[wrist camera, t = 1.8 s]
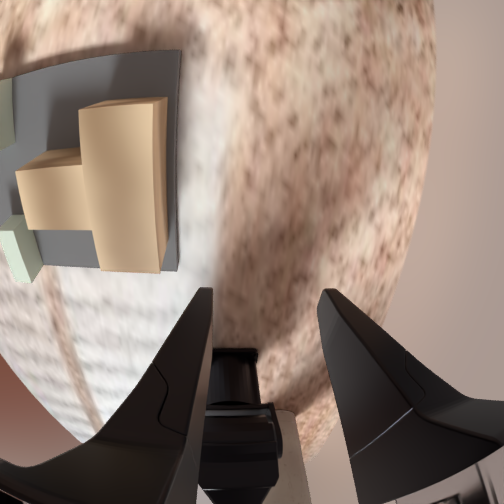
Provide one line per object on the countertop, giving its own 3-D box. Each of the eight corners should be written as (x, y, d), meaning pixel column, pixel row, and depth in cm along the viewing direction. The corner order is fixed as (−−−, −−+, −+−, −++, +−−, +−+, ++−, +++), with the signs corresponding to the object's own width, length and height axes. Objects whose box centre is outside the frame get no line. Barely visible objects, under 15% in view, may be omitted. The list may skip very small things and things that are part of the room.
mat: (181, 50, 14) (179, 49, 13) (178, 265, 23) (177, 271, 22) (-19, 90, 12) (-25, 92, 11) (13, 257, 21) (9, 262, 20)
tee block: (167, 96, 15) (152, 103, 12) (168, 238, 21) (159, 273, 17) (43, 110, 14) (9, 123, 10) (62, 236, 19) (40, 267, 16)
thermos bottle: (261, 430, 46) (280, 566, 23) (237, 419, 42) (254, 575, 19) (301, 418, 44) (329, 560, 21) (282, 405, 40) (310, 572, 17)
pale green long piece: (12, 77, 12) (-10, 82, 10) (43, 264, 21) (31, 283, 19) (-6, 84, 11) (-27, 89, 9) (27, 263, 20) (15, 281, 18)
